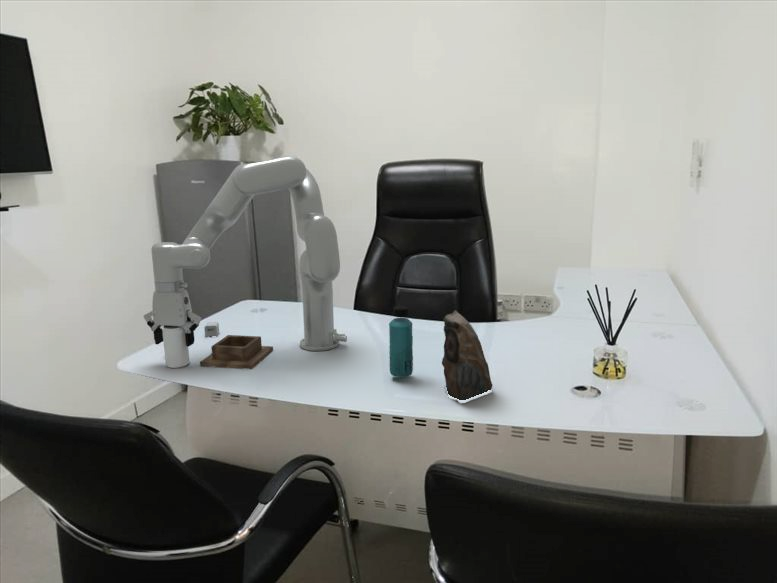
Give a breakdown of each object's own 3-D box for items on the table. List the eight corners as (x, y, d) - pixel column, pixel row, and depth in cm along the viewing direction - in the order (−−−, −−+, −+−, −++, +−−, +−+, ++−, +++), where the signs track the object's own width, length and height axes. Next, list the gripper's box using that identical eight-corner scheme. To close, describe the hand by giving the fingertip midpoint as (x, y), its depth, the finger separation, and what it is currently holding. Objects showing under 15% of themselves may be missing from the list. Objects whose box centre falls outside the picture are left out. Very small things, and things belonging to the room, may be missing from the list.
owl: (460, 406, 130) (462, 327, 125) (424, 390, 140) (425, 315, 135) (495, 392, 138) (498, 317, 133) (458, 377, 147) (460, 306, 143)
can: (184, 368, 156) (180, 328, 153) (162, 368, 156) (157, 328, 153) (193, 360, 162) (189, 322, 159) (171, 360, 162) (167, 322, 159)
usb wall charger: (205, 337, 183) (204, 326, 182) (208, 331, 190) (207, 320, 189) (217, 336, 184) (216, 325, 183) (220, 330, 191) (219, 319, 190)
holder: (273, 350, 170) (272, 334, 169) (252, 369, 155) (250, 351, 154) (225, 347, 173) (224, 332, 172) (200, 365, 158) (198, 348, 156)
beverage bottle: (405, 384, 143) (405, 311, 139) (384, 379, 147) (383, 308, 142) (417, 376, 149) (417, 305, 144) (396, 371, 152) (396, 302, 147)
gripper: (204, 284, 155) (208, 341, 159) (149, 282, 158) (155, 338, 162) (190, 290, 148) (195, 350, 152) (133, 288, 151) (139, 346, 155)
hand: (174, 344), depth 157 cm, fingers open, 9 cm apart
